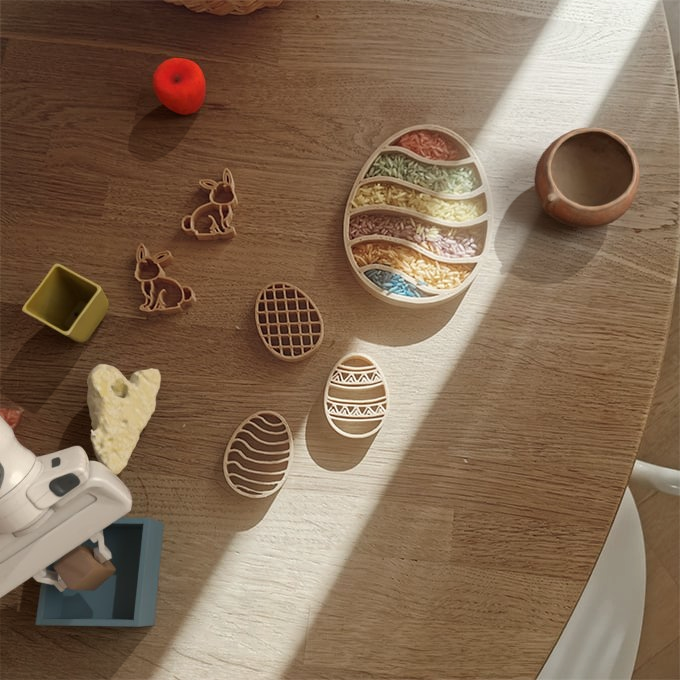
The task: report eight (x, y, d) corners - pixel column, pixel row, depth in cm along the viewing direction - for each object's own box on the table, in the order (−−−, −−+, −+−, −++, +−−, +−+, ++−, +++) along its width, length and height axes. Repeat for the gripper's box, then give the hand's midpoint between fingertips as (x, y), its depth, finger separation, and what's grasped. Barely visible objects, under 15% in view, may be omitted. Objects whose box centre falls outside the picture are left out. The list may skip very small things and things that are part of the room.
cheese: (124, 360, 115) (39, 395, 104) (146, 342, 110) (59, 377, 99) (171, 445, 115) (91, 489, 104) (195, 431, 110) (113, 476, 99)
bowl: (520, 227, 117) (532, 194, 108) (538, 147, 122) (551, 108, 113) (620, 248, 115) (640, 217, 106) (633, 165, 120) (655, 128, 111)
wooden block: (100, 547, 98) (76, 542, 90) (118, 570, 97) (95, 567, 89) (76, 569, 97) (50, 566, 90) (94, 592, 96) (69, 591, 88)
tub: (56, 623, 100) (34, 625, 94) (70, 522, 105) (50, 517, 99) (154, 625, 100) (138, 626, 93) (163, 523, 104) (149, 517, 98)
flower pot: (90, 356, 114) (66, 336, 105) (46, 331, 116) (19, 309, 107) (122, 310, 116) (102, 287, 108) (79, 286, 118) (55, 261, 110)
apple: (152, 103, 130) (138, 72, 122) (192, 75, 131) (180, 43, 124) (182, 134, 127) (169, 105, 120) (222, 105, 129) (212, 75, 121)
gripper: (-65, 564, 82) (13, 638, 88) (94, 460, 85) (158, 539, 91) (-58, 534, 88) (14, 605, 94) (91, 438, 91) (152, 513, 97)
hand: (87, 572), depth 93 cm, fingers closed on wooden block, 4 cm apart
